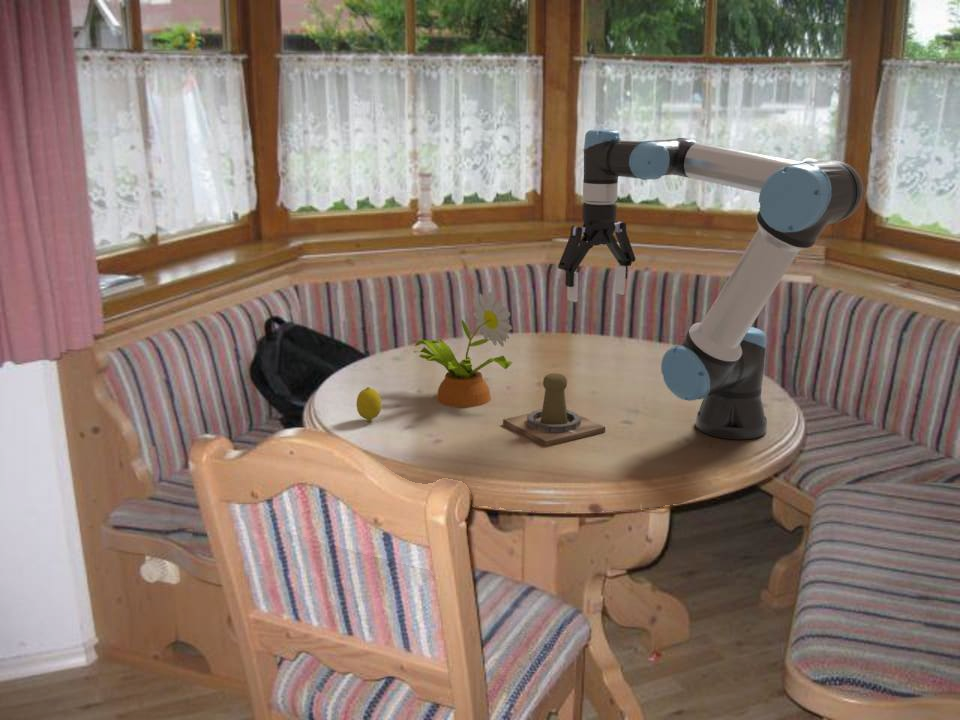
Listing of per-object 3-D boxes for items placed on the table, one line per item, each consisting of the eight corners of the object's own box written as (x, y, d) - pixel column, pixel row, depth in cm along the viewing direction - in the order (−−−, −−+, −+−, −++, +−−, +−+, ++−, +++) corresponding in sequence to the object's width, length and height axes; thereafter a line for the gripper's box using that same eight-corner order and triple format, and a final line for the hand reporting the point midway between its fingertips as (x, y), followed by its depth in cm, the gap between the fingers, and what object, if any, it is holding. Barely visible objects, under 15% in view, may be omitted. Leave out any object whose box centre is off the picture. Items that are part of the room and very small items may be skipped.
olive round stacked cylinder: (539, 418, 218) (540, 370, 215) (566, 417, 218) (567, 370, 215) (541, 427, 212) (542, 379, 209) (569, 427, 213) (570, 378, 210)
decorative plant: (532, 400, 234) (534, 297, 227) (459, 424, 218) (458, 315, 211) (455, 376, 253) (455, 280, 246) (382, 396, 237) (379, 295, 230)
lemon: (358, 426, 217) (356, 391, 215) (356, 417, 222) (355, 384, 220) (383, 424, 218) (382, 390, 216) (380, 416, 223) (379, 382, 221)
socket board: (605, 432, 214) (605, 421, 213) (546, 446, 205) (546, 435, 205) (560, 411, 226) (560, 401, 226) (503, 424, 218) (503, 413, 217)
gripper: (631, 196, 224) (627, 287, 230) (543, 204, 211) (541, 300, 217) (654, 200, 218) (649, 293, 224) (564, 208, 205) (562, 307, 211)
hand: (596, 297), depth 220 cm, fingers open, 13 cm apart
